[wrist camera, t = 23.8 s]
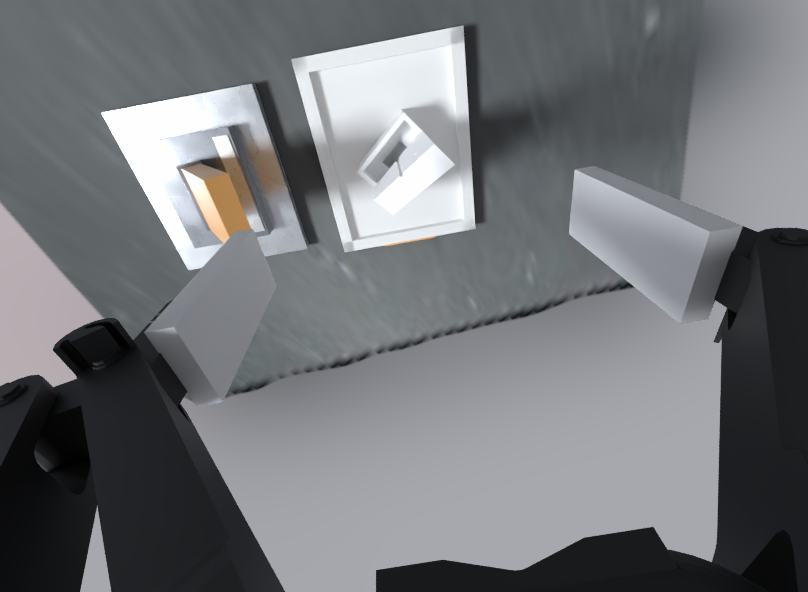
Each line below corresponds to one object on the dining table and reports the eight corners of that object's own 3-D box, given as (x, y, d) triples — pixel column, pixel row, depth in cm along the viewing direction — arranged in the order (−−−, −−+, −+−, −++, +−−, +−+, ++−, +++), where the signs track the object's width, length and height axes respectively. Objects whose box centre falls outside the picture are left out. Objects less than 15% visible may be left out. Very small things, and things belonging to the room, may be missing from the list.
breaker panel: (109, 111, 28) (88, 114, 26) (255, 83, 28) (245, 83, 26) (192, 265, 36) (181, 277, 33) (309, 244, 35) (304, 255, 33)
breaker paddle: (174, 166, 28) (198, 179, 20) (198, 160, 28) (230, 170, 21) (204, 228, 30) (236, 261, 23) (226, 221, 31) (263, 250, 23)
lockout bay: (294, 60, 27) (291, 59, 26) (460, 27, 27) (463, 25, 26) (346, 249, 36) (345, 254, 35) (472, 226, 35) (475, 230, 34)
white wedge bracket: (476, 99, 27) (455, 164, 22) (398, 173, 34) (369, 234, 29) (443, 60, 25) (412, 121, 21) (368, 146, 33) (332, 206, 28)
